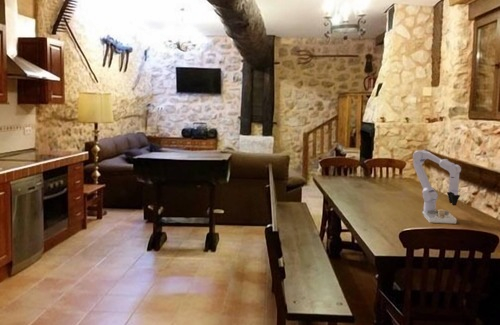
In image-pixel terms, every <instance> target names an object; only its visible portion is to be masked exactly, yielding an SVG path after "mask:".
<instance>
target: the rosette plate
mask: <svg viewBox="0 0 500 325" xmlns="http://www.w3.org/2000/svg"><path fill="white" fill-rule="evenodd" d="M423 217H424V218H425V219H426V221H427V222H428V223H430V224H434V223H435V224H450V225H451V224H455V225H456V224H457V220H458V219H457V218H456V217H455V216H454V215H453V214H451V213H450V211H449V210H445V217H438V209H437V210H436V209H435V210H427V212H424V214H423Z"/></svg>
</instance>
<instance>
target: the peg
mask: <svg viewBox="0 0 500 325" xmlns="http://www.w3.org/2000/svg"><path fill="white" fill-rule="evenodd" d="M437 211H438V217H445V211H446V210H445V209H441V208H439V209H437Z"/></svg>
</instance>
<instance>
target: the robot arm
mask: <svg viewBox="0 0 500 325" xmlns="http://www.w3.org/2000/svg"><path fill="white" fill-rule="evenodd" d="M411 158H413V159H412V161H413V162H412V165H413V168H414V170H415V173H416V175H417V178H418V180H419V182H420V185H421V188H422V191H421V193H422V199H423V201H424V203H423V211H421V213H422V214H423V215H424V212H427V210H436V208H437V205H436V204H437V200H438V199H439V194H438V192H437V191H436V190H435V188H434V187H432V185H431V183H430V181H429V178H428V176H427V173H426V171H425V168H424V166H423V164H424V162H425V161H427V160H430V161H432V162H434V163H436V164H438V165H439V167H440V168H442V169H444V170H446V171H447V172H448V173H449V180H448V182H449V184H448V191H447V192H446V194H447V195H448V201H449V204H451V205H452V206H457V204H458V201H459V199H460V197H461V194H459V192H461V190H460V189H459V188H460V186H459V185H460V173H461V171H462V166H460V165H459V164H455V163H454V162H451V161H450V160H449V159H448V158H444V159H443V158H440V157H439V156H436V155H435V154H433V153H431V151H428V150H426V149H423V150H415V151H414V153H413V155H412V157H411Z"/></svg>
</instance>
